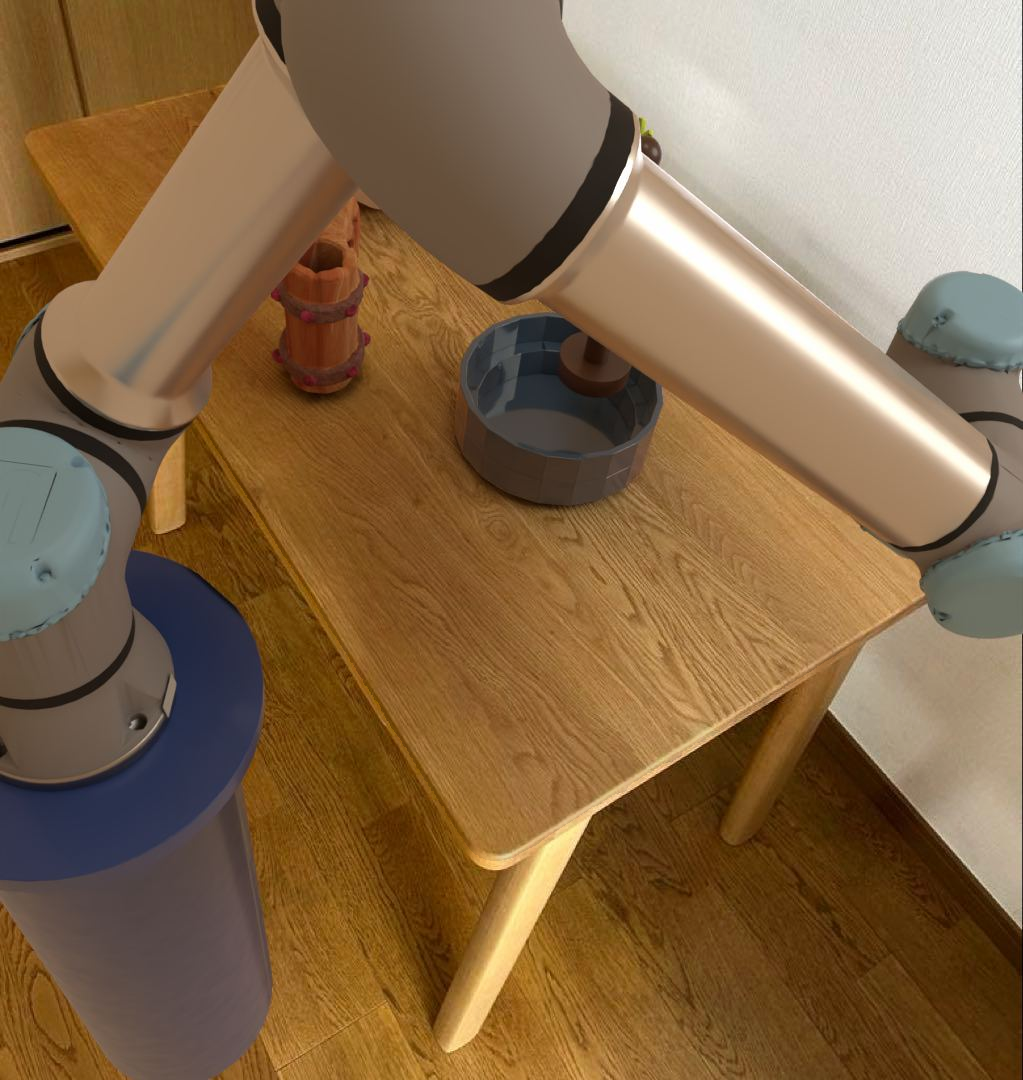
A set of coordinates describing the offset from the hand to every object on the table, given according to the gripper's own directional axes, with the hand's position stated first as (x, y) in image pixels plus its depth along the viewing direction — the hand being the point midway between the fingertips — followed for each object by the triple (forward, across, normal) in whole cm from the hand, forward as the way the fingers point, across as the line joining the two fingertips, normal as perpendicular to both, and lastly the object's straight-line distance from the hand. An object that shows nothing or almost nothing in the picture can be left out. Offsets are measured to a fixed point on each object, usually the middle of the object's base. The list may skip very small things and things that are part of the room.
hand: (575, 217), depth 92 cm
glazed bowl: (-4, -2, -21) cm, 21 cm away
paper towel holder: (-6, 0, -13) cm, 14 cm away
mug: (+15, -14, -21) cm, 29 cm away
